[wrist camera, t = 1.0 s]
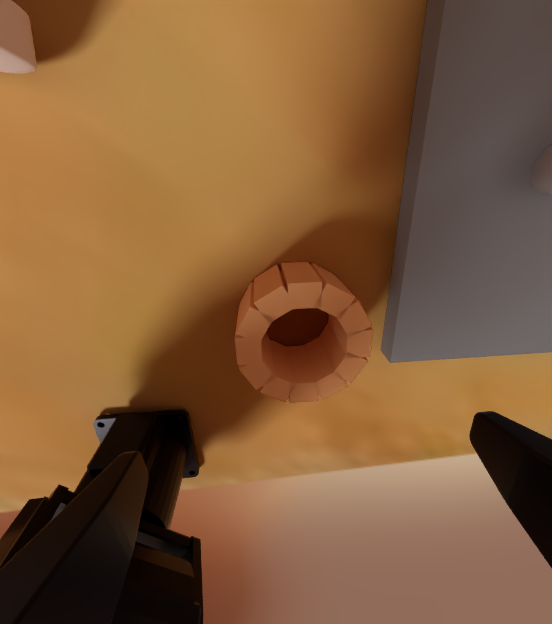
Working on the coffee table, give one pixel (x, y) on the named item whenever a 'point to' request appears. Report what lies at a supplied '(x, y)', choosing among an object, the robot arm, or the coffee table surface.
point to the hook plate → (476, 188)
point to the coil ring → (312, 356)
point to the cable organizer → (15, 40)
